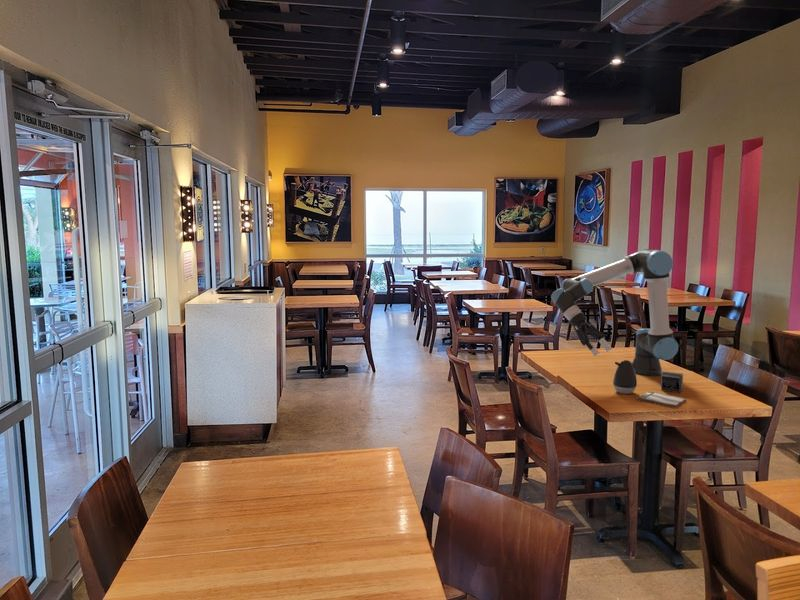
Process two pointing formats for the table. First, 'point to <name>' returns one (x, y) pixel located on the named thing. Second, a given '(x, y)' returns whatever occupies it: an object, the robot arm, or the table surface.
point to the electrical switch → (671, 381)
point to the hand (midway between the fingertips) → (603, 352)
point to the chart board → (661, 399)
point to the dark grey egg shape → (625, 377)
